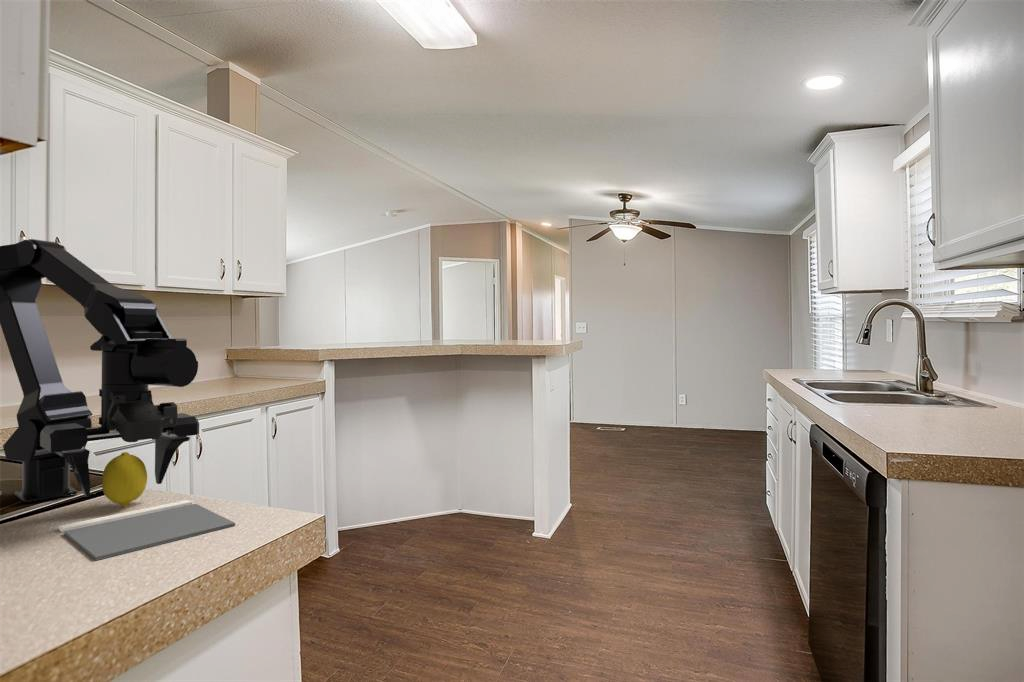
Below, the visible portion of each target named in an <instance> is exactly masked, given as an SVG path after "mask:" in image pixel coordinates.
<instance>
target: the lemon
mask: <svg viewBox="0 0 1024 682" xmlns="http://www.w3.org/2000/svg"><path fill="white" fill-rule="evenodd" d="M147 483H148V473H147V468H146V465H145V463H144V462H143V460H142V459H141V458H140V457H138V456H136V455H135V454H134V455H133V454H130V453H129V452H124V451H123V452H122V453H121V454H120V455H118V456H115V457H114V458H112V459H111V460H109V462H108V463H107V464H106V465H105V467H104V470H103V473H102V477H101V489H102V492H103V494H104V496H105V497H106V498H107V499H108V500H109V501H111V502H113V503H114V504H115V503H116V504H118V505H119V506H121V507H123V508H124V507H128V506H129V505H130V503H132V502H133V501H135V500H137V499H138V498H139V497H141V495H143V493H144V491H145V489H146V486H147Z"/></svg>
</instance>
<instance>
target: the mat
mask: <svg viewBox="0 0 1024 682" xmlns="http://www.w3.org/2000/svg"><path fill="white" fill-rule="evenodd" d="M235 526H236V522H234V521H232V520H230V519H228V518H226V517H224V516H223V515H220V514H218V513H216V512H213V511H212V510H210V509H208V508H206V507H203V506H202V505H199V504H198V503H192V505H187V506H182V507H178V508H173V509H168V510H163V511H159V512H154V513H149V514H144V515H140V516H135V517H130V518H125V519H121V520H116V521H111V522H106V523H102V524H97V525H92V526H87V527H82V528H78V529H73V530H68V531H64V532H63V535H64V536H66V537H67V538H68V539H69V540H70V541H71V542H73V543H74V544H75V545H76V546H78V547H79V548H80V549H81V550H83V551H84V552H85V553H86V554H87V555H88V556H90V557H91V558H92V559H94V560H95V561H99V560H104V559H107V558H111V557H116V556H119V555H123V554H127V553H132V552H136V551H140V550H143V549H144V550H145V549H148V548H152V547H156V546H160V545H164V544H168V543H172V542H176V541H179V540H184V539H188V538H191V537H196V536H199V535H204V534H207V533H212V532H216V531H219V530H224V529H227V528H231V527H235Z"/></svg>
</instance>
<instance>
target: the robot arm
mask: <svg viewBox="0 0 1024 682" xmlns="http://www.w3.org/2000/svg"><path fill="white" fill-rule="evenodd" d="M45 278H46V279H47V280H48V281H49V282H51V283H53V284H54V285H55V286H56V287H58V288H59V289H60V290H61V291H63V292H64V293H65V294H67V295H68V296H70V297H71V298H72V299H73V300H74V301H76V302H77V303H78V304H80V306H82V308H83V311H84V317H85V319H86V320H87V321H88V323H90V325H91V326H92V327H93V328H94V329H95V331H97V332H98V333H99V334H100V335H101V336H100V338H98V339H97V340H96V341H95V342H93V343H92V344H91V345H90V346H89V349H90V350H91V351H96V352H101V385H100V386H101V388H99V390H98V391H99V392H98V393H99V394H98V396H99V397H101V398H100V399H101V400H100V401H101V402H100V403H101V406H100V407H101V408H100V410H101V411H100V414H101V416H100V417H98V425H100V426H95V427H94V426H93V423H92V419H91V418H92V417H91V416H93V412H91V410H90V407H89V406H88V402H87V397H86V395H85V394H84V393H83V391H71V390H70V389H69V388H68V387H66V386H65V385H64V382H63V379H62V376H61V374H60V369H59V367H58V364H57V361H56V358H55V355H54V352H53V350H52V349H53V348H52V346H51V343H50V340H49V337H48V334H47V332H46V329H45V326H44V322H43V320H42V317H41V314H40V310H39V308H38V305H37V297H38V296H39V293H40V291H41V288H42V286H43V283H42V279H45ZM157 309H158V308H157V306H156V304H155V303H154V301H152V300H151V299H150V298H148V297H146V296H144V295H141V294H139V293H137V292H135V291H132V290H129V289H125V288H122V287H118V286H116V285H114V284H112V283H110V281H108V280H106V279H105V278H104V277H103V276H101V275H100V274H98V273H97V272H96V271H94V270H93V269H92V268H90V267H89V266H88V265H87V264H85V263H84V262H82V261H81V260H79V258H77V257H75V256H74V255H73V254H72V253H70V252H69V251H67V248H66V247H65V246H64V245H62V244H60V243H58V242H56V241H47V240H40V239H33V238H29V239H26V240H21V241H18V242H17V243H11V244H4V245H0V327H1V330H2V334H3V336H4V340H5V342H6V346H7V348H8V352H9V355H10V358H11V360H12V363H13V367H14V370H15V373H16V376H17V378H18V381H19V386H20V388H21V390H22V394H23V395H22V396H23V397H22V400H21V403H20V405H19V408H18V411H17V413H16V421H17V428H16V430H15V431H14V432H13V433H12V434H11V436H10V437H8V439H7V440H6V441H5V442H4V444H3V446H2V448H3V451H4V456H5V459H6V460H9V461H18V462H22V467H21V468H22V469H21V470H22V474H21V475H22V480H21V481H22V485H21V486H22V487H21V488H22V489H20V490H16V491H14V496H16V497H17V498H18V499H19V500H21V501H22V500H23V501H24V502H29V503H31V502H30V501H35V502H37V501H36V500H41V501H44V500H43V499H47V500H49V499H48V498H52V499H55V498H54V497H58V498H60V497H59V496H64V497H66V496H65V495H70V496H72V495H71V494H75V495H77V494H76V493H78V491H79V490H77V489H76V488H75V487H73V486H71V483H70V482H71V477H70V474H71V473H70V472H71V470H72V471H73V474H74V477H75V478H76V480H77V482H78V485H79V487H80V490H81V492H82V494H83V496H84V497H86V498H88V497H90V495H91V479H90V477H91V476H90V468H89V458H90V453H91V452H90V450H89V449H87V448H86V446H87V444H88V442H93V441H103V440H104V441H105V440H109V439H110V440H112V439H119V438H121V439H122V441H124V442H126V443H137V442H139V441H143V440H145V441H146V440H154V442H155V443H154V477H155V483H156V484H157V485H161V484H162V483H163V482H164V481H163V480H164V478H165V476H166V474H167V471H168V468H169V466H170V464H171V461H172V458H173V456H174V455H175V453H176V451H177V449H178V448H179V447H180V446H181V445H182V444H184V443H185V442H189V441H190V440H191V437H190V436H197V435H200V422H199V419H198V418H197V417H196V416H195V415H190V414H187V413H184V412H179V413H178V405H177V403H175V402H174V401H172V402H171V401H170V402H169V401H168V402H160V403H159V404H154V401H153V395H152V390H150V389H149V386H150V385H151V386H162V387H164V386H165V387H174V388H175V387H177V388H184V387H187V386H188V385H190V384H191V383H192V382H193V381H194V380H195V378H196V376H197V373H198V370H199V361H198V360H197V357H196V355H195V352H193V350H192V349H191V348H189V347H187V346H188V343H187V342H188V340H187V339H186V338H173V337H172V335H171V333H170V331H169V330H168V328H167V327H166V325H165V323H164V321H163V319H162V318H161V316H160V314H159V313H158V311H157ZM23 501H22V502H23ZM24 502H23V503H24Z"/></svg>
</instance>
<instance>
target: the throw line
mask: <svg viewBox="0 0 1024 682" xmlns="http://www.w3.org/2000/svg"><path fill="white" fill-rule="evenodd" d="M192 504H193V501H191V500H189V499H185V500H180V501H175V502H171V503H170V502H169V503H165V504H160V505H156V506H155V505H154V506H149V507H146V508H140V509H135V510H131V511H126V512H125V511H124V512H121V513H120V512H119V513H115V514H111V515H106V516H102V517H97V518H91V519H87V520H82V521H77V522H76V521H75V522H71V523H67V524H66V523H65V524H62V525H58V526H57V530H59V532H60V533H64V531H68V530H73V529H78V528H82V527H87V526H92V525H97V524H102V523H106V522H111V521H116V520H121V519H125V518H130V517H135V516H140V515H144V514H149V513H154V512H159V511H163V510H168V509H173V508H178V507H182V506H187V505H192Z"/></svg>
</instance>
